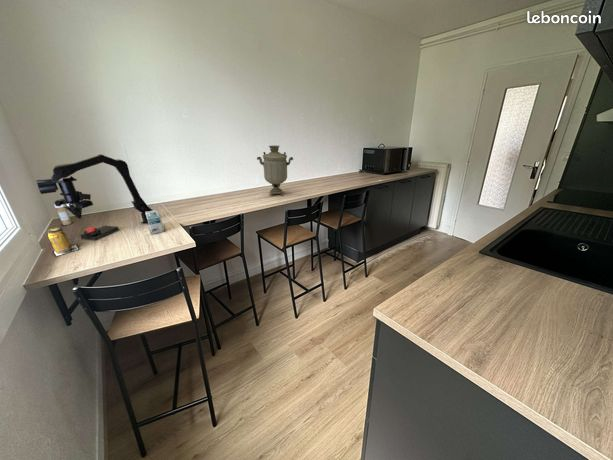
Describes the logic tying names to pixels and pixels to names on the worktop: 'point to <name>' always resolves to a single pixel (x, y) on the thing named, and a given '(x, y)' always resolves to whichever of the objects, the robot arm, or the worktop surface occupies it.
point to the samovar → (275, 168)
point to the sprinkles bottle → (63, 214)
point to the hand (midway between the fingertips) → (79, 218)
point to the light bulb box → (154, 221)
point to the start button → (90, 229)
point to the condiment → (60, 241)
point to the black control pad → (99, 233)
